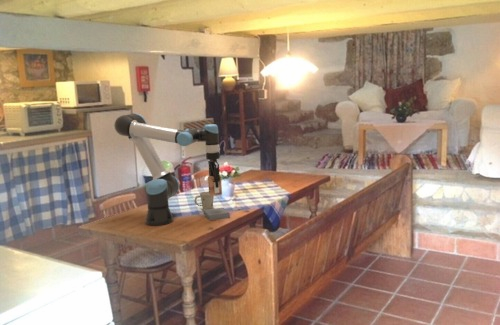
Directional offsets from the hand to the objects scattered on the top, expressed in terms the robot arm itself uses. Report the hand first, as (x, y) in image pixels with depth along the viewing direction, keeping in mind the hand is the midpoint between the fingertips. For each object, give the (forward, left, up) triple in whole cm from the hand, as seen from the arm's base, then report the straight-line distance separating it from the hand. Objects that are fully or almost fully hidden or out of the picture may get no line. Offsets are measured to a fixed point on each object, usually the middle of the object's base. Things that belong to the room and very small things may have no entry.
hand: (215, 191), depth 272 cm
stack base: (0, 0, -15) cm, 15 cm away
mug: (-2, +19, -15) cm, 24 cm away
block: (0, 0, -1) cm, 1 cm away
